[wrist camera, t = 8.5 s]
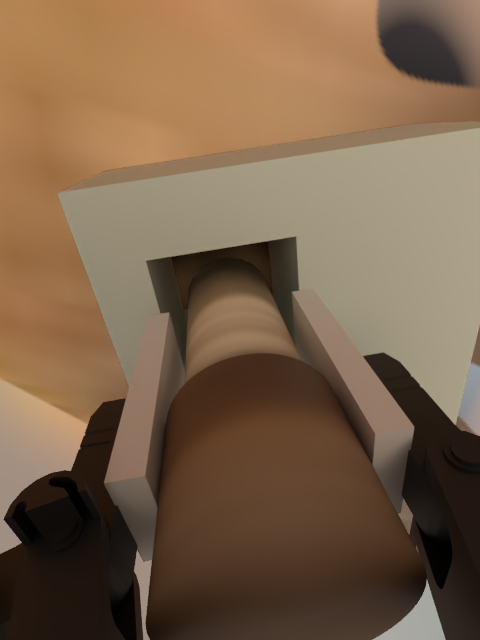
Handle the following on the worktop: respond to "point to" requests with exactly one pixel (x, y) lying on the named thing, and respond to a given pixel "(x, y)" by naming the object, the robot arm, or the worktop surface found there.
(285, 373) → the peg
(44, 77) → the worktop surface
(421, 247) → the seat board
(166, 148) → the worktop surface
